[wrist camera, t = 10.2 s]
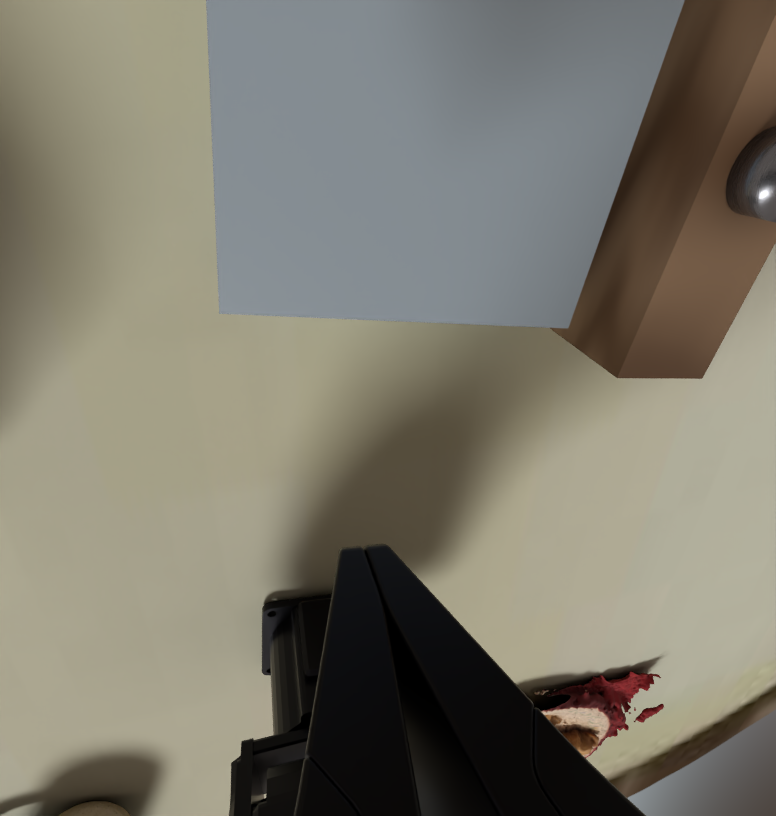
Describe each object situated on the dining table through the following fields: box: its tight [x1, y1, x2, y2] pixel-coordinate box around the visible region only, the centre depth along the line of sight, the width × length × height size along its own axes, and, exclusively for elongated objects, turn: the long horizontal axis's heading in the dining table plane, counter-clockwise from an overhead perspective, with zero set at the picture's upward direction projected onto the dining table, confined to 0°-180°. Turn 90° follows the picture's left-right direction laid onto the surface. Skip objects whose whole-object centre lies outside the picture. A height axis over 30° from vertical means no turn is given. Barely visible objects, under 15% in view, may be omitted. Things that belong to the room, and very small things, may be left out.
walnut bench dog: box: [550, 0, 776, 379], centre depth 16 cm, size 14×4×6 cm, turn 172°
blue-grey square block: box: [206, 0, 685, 328], centre depth 14 cm, size 12×12×4 cm
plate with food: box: [534, 672, 664, 758], centre depth 46 cm, size 24×26×4 cm
